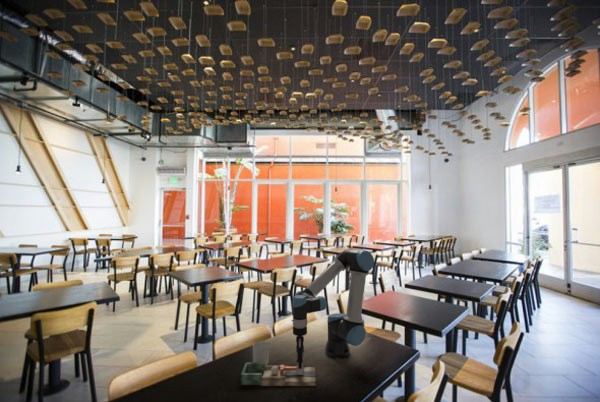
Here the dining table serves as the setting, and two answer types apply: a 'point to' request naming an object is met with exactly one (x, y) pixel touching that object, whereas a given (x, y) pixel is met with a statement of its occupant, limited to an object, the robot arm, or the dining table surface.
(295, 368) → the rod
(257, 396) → the dining table surface
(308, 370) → the lane
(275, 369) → the ball
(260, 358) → the mug
